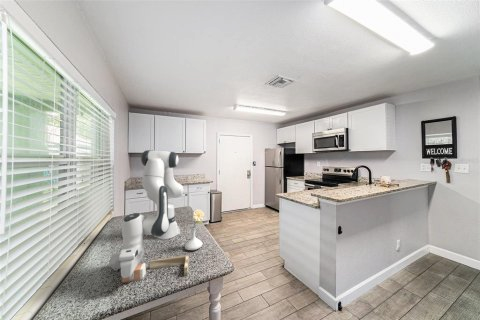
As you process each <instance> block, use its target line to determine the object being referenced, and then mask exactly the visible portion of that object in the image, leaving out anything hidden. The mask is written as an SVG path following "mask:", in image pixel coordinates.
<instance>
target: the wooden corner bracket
mask: <svg viewBox="0 0 480 320" xmlns="http://www.w3.org/2000/svg"><path fill="white" fill-rule="evenodd" d="M189 263H190V256H189V254H185V255H178V256H171V257H164V258H158V259H150V260H149V270H153V269H154V270H155V269H161V268H168V267H173V266H179V265H184V266H183V270H184V273H183V274H184V277H187V276H188V277H189V275H188V274H189V266H190V264H189Z"/></svg>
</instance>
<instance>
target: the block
mask: <svg viewBox="0 0 480 320" xmlns="http://www.w3.org/2000/svg"><path fill="white" fill-rule="evenodd" d="M146 267H147V266H146V263H145V262H144V263H139V264H138V265H137V266H136V268H135V270H134V272H133V273H134V276H135V277H134V279H132V280H130V279H129V277H128V278H122V277H121V281H122V283H128V282H133V281H139V280H144V279H145V276H146V273H147V268H146Z"/></svg>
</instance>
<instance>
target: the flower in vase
mask: <svg viewBox="0 0 480 320" xmlns="http://www.w3.org/2000/svg"><path fill="white" fill-rule="evenodd" d="M192 218H193V219H194V221H195V222H194V223H192V222H189V224H190V226H188V229H190V233H191V238H190V239H189V240H188V241H186V243H185V245H184V249H185V250H187V251H196V250H198V249H200V248H201V247H202V246H203V242H202V240H200V239H199V238H197V237H196V229H197V227H198V225H200V224H202V223H203V220H204V219H205V213H204V212H203V210H202V209H195V211H193V213H192ZM196 224H198V225H196Z"/></svg>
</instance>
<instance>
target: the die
mask: <svg viewBox="0 0 480 320" xmlns="http://www.w3.org/2000/svg"><path fill="white" fill-rule="evenodd" d="M121 251H122V250H119V251H118V252H116V253H113V254H111V257H110V259H109V262H108V266H109V267H110V268H111V269H112V270H113V271H114V272H116V271H119V270H121V269H120V263H121V261H119V256H120V254H121ZM118 269H119V270H118Z"/></svg>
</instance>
